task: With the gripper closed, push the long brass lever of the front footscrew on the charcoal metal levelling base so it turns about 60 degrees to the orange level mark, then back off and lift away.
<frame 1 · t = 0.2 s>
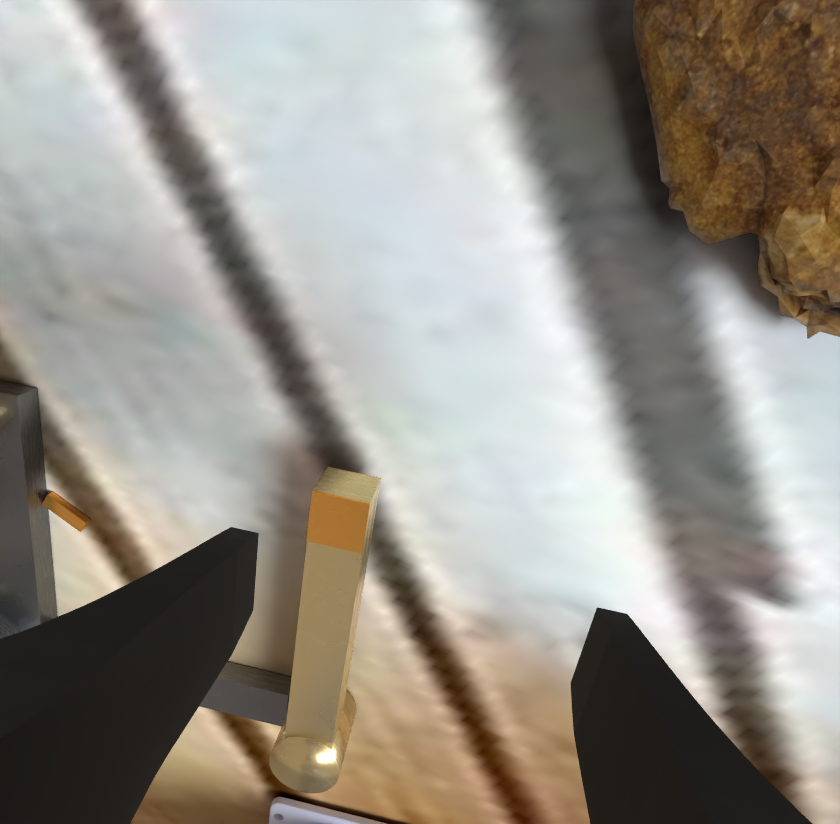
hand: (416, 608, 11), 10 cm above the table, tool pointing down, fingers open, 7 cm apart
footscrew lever: (329, 634, 22), point 2 cm above the table, hinge at 0.0°
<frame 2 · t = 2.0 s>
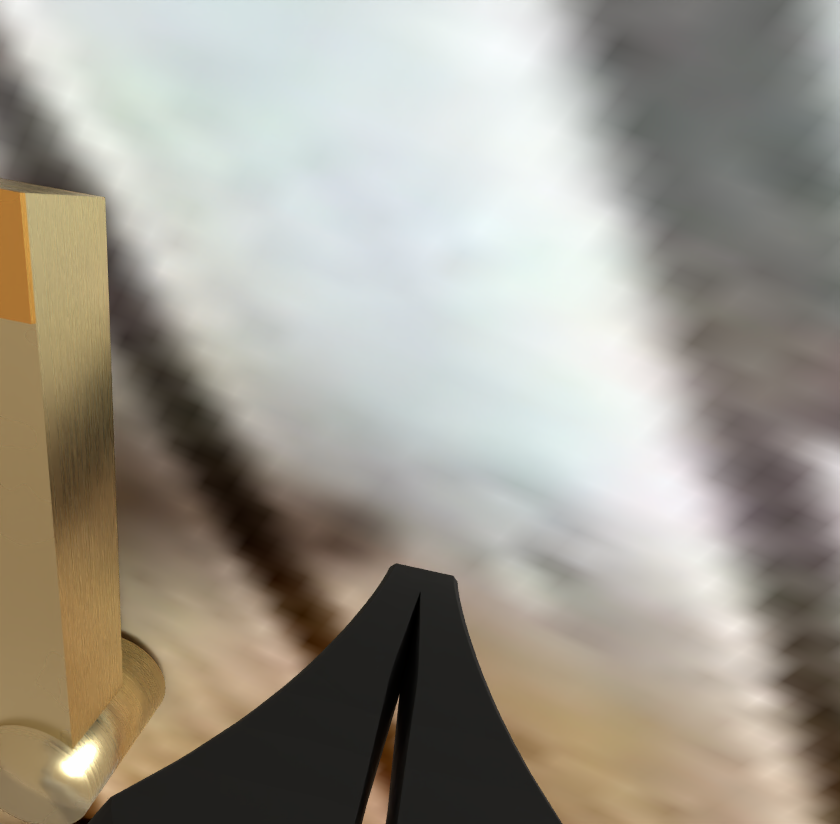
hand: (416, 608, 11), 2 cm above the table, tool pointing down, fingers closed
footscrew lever: (61, 536, 12), point 2 cm above the table, hinge at 0.0°
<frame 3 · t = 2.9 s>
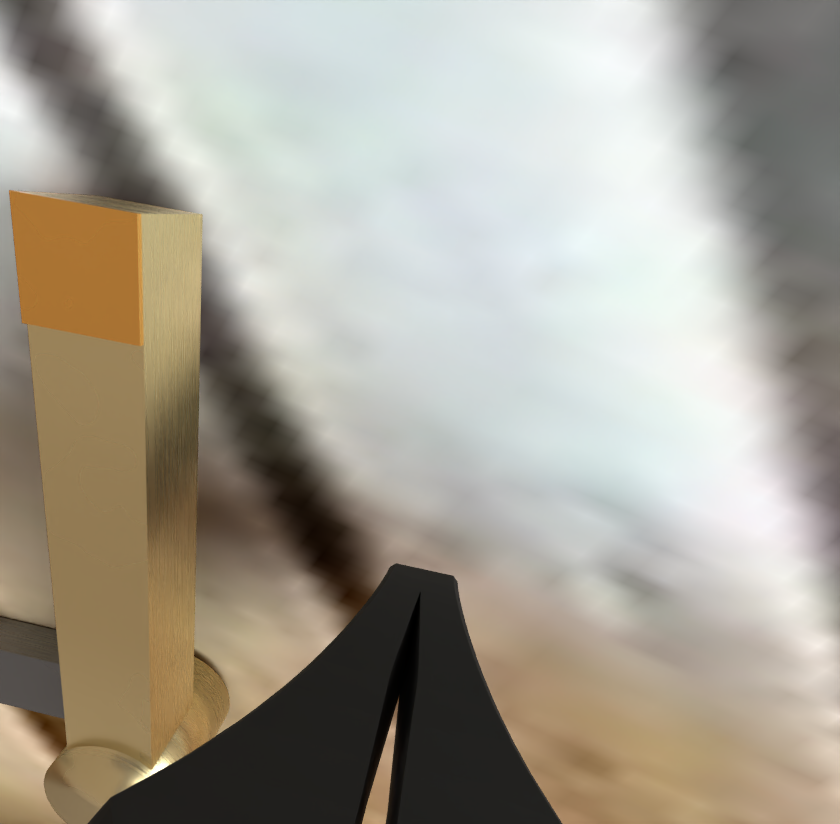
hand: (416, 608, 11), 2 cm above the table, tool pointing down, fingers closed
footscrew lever: (141, 554, 12), point 2 cm above the table, hinge at 0.0°
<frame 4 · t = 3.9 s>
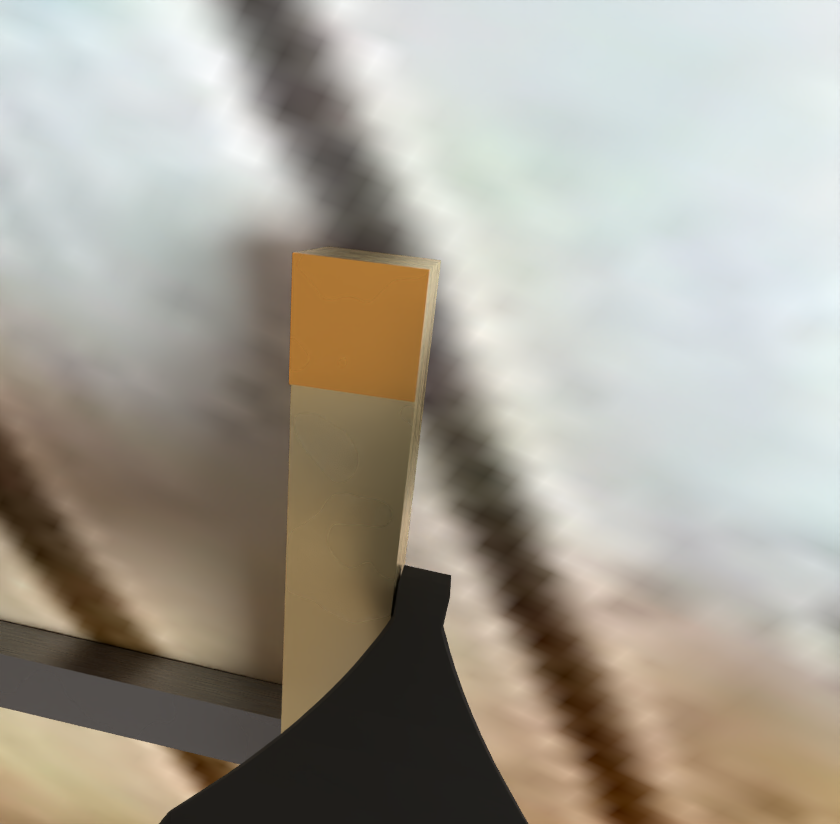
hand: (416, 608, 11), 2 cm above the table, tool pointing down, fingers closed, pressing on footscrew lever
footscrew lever: (351, 604, 12), point 2 cm above the table, hinge at 3.0°, touching gripper
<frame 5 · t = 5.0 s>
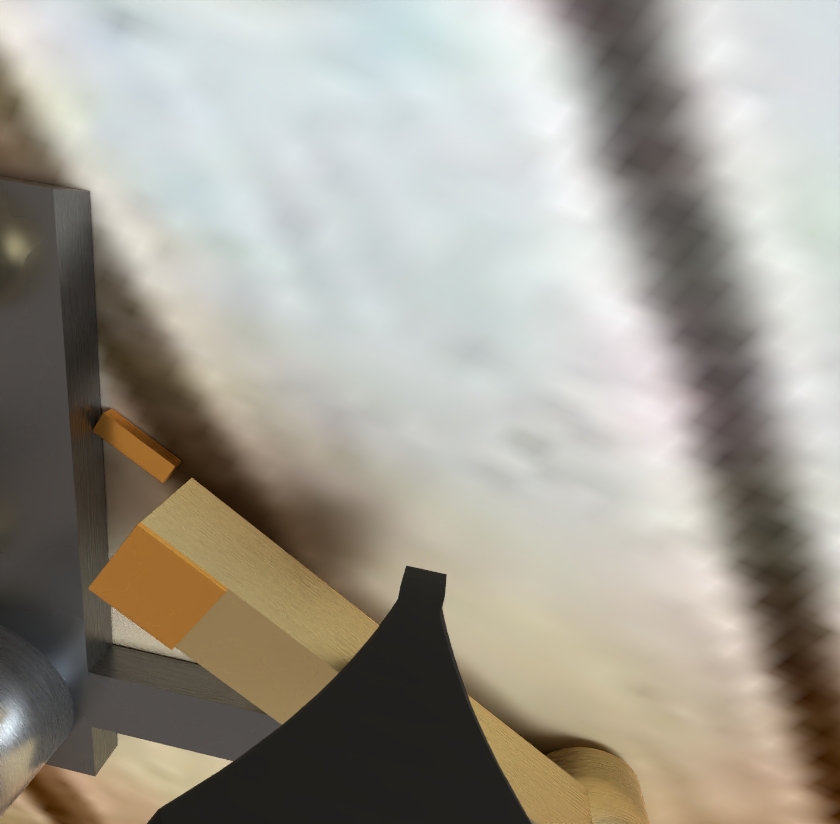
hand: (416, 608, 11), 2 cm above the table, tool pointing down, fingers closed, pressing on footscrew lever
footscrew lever: (413, 714, 12), point 2 cm above the table, hinge at 58.3°, touching gripper
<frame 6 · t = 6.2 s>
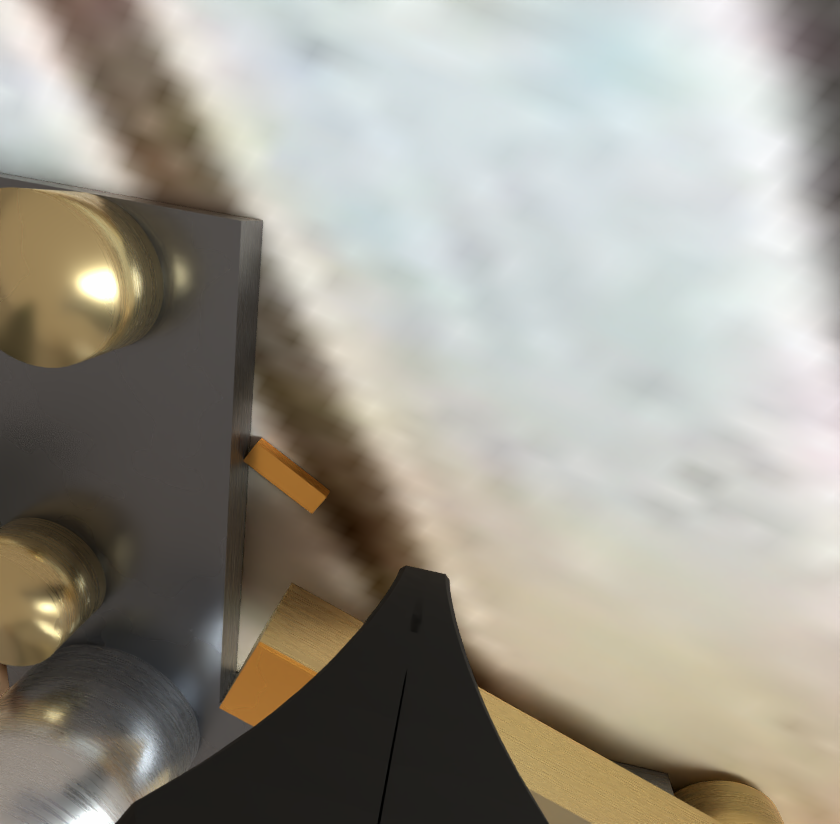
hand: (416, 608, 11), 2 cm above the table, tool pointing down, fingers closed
levelling base: (130, 527, 14), on the table
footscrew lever: (540, 777, 13), point 2 cm above the table, hinge at 69.3°, touching gripper
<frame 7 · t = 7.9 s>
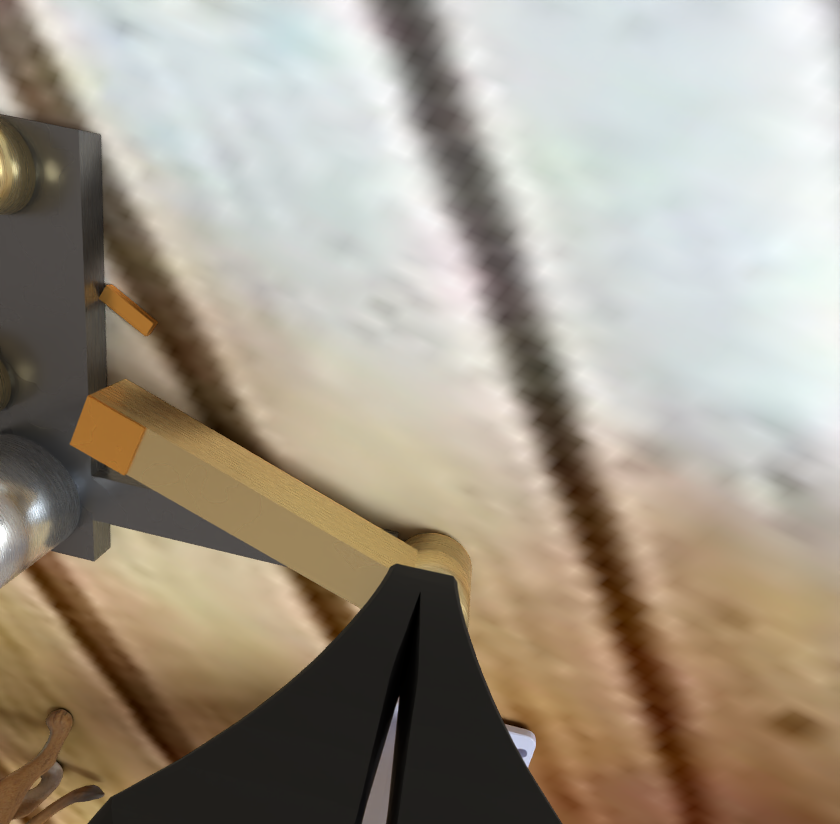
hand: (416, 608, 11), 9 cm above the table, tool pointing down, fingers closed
lion figurine: (2, 680, 27), on the table
levelling base: (30, 353, 20), on the table
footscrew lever: (290, 511, 19), point 2 cm above the table, hinge at 69.9°
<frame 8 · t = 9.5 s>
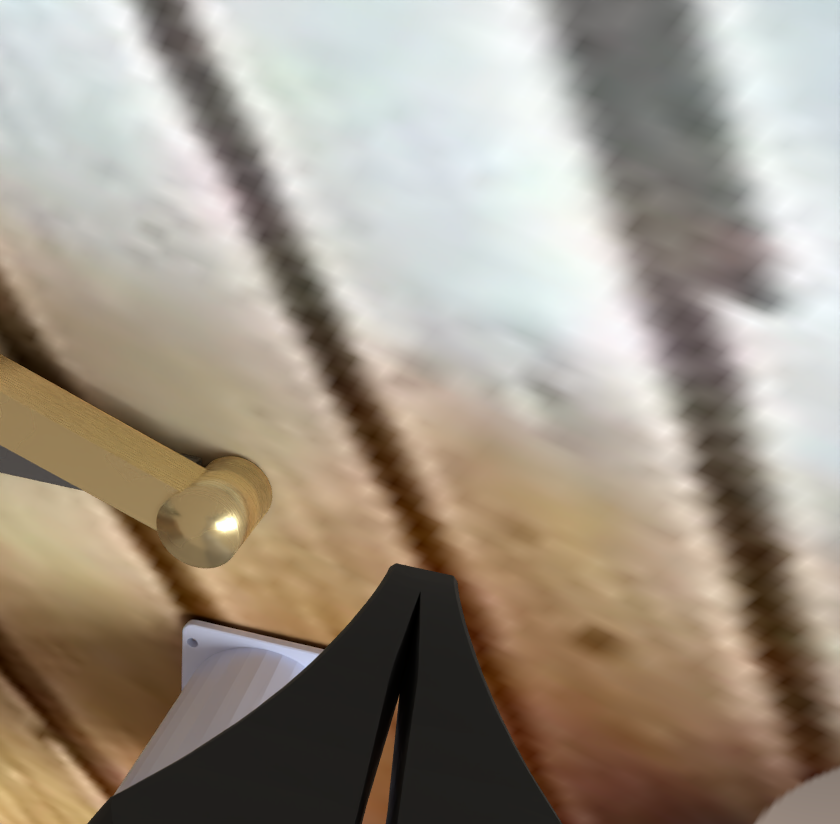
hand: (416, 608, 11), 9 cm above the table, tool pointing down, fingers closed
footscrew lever: (80, 433, 20), point 2 cm above the table, hinge at 69.9°
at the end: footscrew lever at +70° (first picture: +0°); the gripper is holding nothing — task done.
